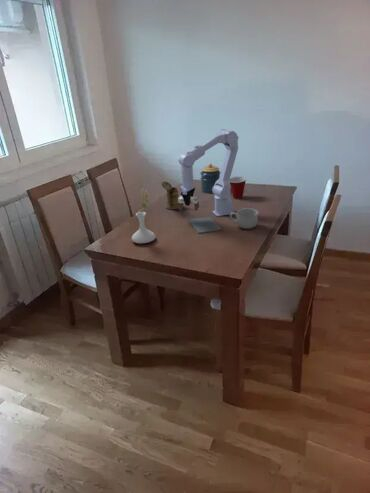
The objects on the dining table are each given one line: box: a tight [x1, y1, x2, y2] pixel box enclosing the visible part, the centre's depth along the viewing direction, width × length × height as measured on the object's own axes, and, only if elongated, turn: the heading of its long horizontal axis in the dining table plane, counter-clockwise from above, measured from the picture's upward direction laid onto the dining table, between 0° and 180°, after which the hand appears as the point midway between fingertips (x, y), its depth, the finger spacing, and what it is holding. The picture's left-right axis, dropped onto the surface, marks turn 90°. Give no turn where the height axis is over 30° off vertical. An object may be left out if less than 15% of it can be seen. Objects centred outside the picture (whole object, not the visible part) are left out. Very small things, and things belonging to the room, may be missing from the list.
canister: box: [200, 163, 221, 194], centre depth 237 cm, size 13×13×18 cm
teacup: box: [229, 207, 259, 230], centre depth 182 cm, size 14×11×8 cm
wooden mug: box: [160, 181, 180, 211], centre depth 210 cm, size 9×14×18 cm, turn 157°
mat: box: [188, 216, 222, 235], centre depth 188 cm, size 18×12×1 cm, turn 15°
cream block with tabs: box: [178, 195, 200, 211], centre depth 191 cm, size 10×5×6 cm, turn 76°
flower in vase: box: [131, 187, 156, 244], centre depth 171 cm, size 13×11×25 cm
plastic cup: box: [229, 175, 247, 200], centre depth 222 cm, size 11×11×12 cm
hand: (188, 203), depth 191 cm, fingers closed on cream block with tabs, 5 cm apart
